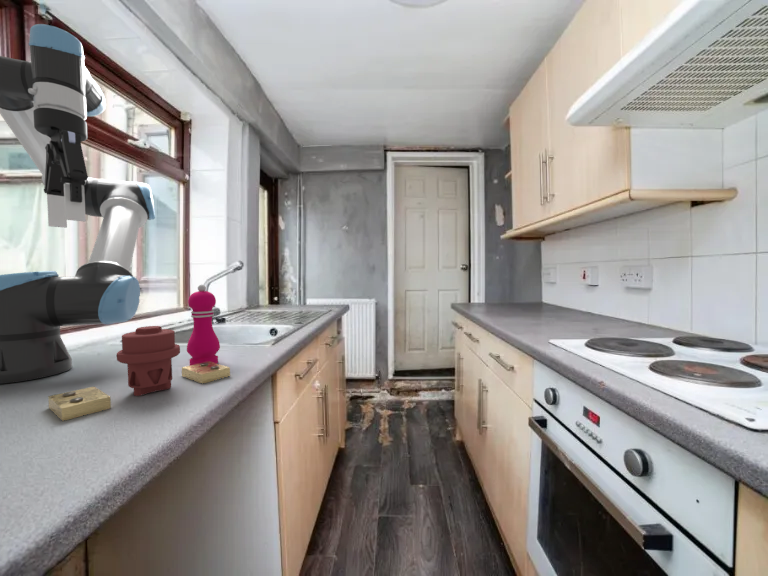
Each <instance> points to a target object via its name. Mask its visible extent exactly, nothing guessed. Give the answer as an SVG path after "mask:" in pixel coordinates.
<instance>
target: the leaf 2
mask: <svg viewBox="0 0 768 576" xmlns="http://www.w3.org/2000/svg"><path fill="white" fill-rule="evenodd" d="M228 376H230V377H231V367H230V366H226V365H223V364H219V363H218V364H216V363H213V362H204V363H199V364H195V365H190V364H189V365H186V366H182V367H181V377H184V378H185V377H186V378H185V379H187V380H191V381H193V380H194V381H193V382H196V383H199V384H201V383H202V384H201V385H203V383H204V384H207V383H210V382H214V380H215V381H218V380H221V379H220V378H222V379H225V378H224V377H226V378H229V377H228ZM217 379H218V380H217Z"/></svg>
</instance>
